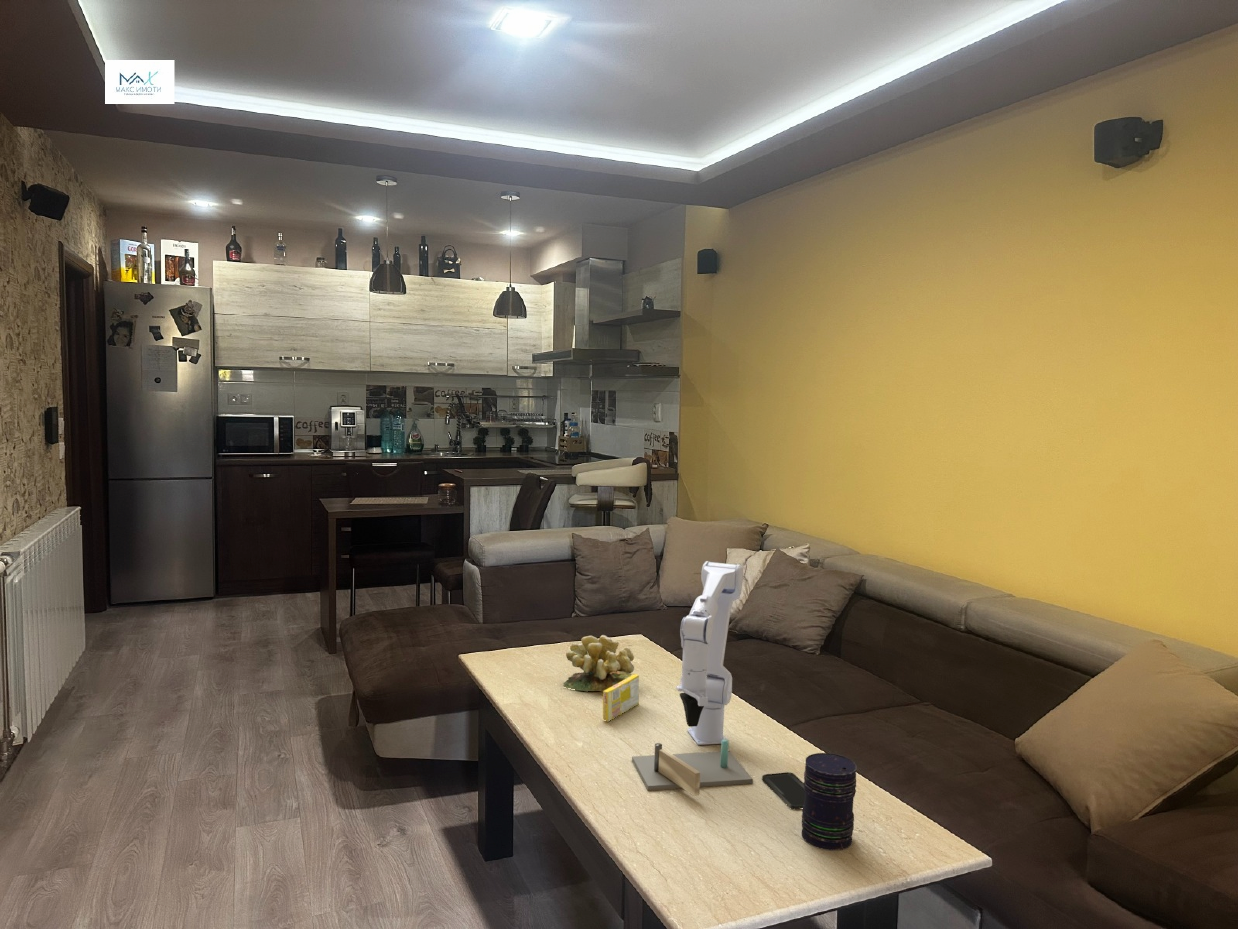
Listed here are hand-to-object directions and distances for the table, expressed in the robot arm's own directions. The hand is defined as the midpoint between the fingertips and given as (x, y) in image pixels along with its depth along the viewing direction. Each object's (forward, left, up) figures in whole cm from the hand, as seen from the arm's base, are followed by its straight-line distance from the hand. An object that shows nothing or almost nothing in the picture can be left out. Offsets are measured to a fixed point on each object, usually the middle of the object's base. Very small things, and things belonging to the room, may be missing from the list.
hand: (692, 725), depth 194 cm
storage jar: (+35, +17, -10) cm, 40 cm away
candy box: (-34, -9, -10) cm, 37 cm away
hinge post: (+4, -9, -9) cm, 14 cm away
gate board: (+4, -1, -9) cm, 10 cm away
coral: (-58, -11, -10) cm, 60 cm away
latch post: (+4, +7, -9) cm, 12 cm away
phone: (+16, +18, -10) cm, 26 cm away
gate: (+11, -6, -8) cm, 15 cm away
